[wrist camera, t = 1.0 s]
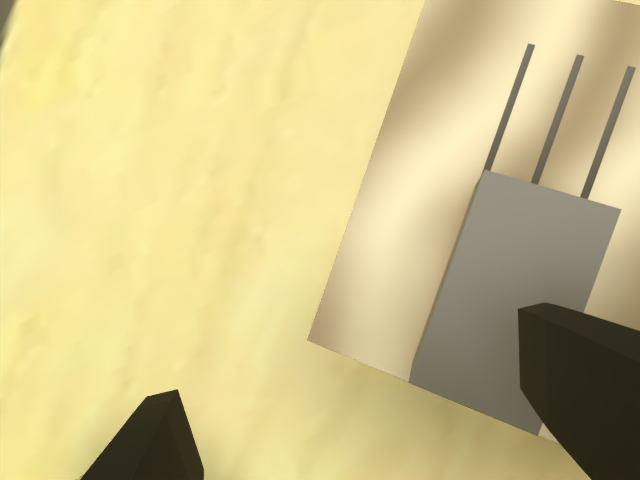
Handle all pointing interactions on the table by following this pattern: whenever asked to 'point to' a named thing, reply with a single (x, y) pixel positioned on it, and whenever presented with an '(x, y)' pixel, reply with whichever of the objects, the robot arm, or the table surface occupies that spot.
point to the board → (488, 159)
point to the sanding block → (507, 290)
